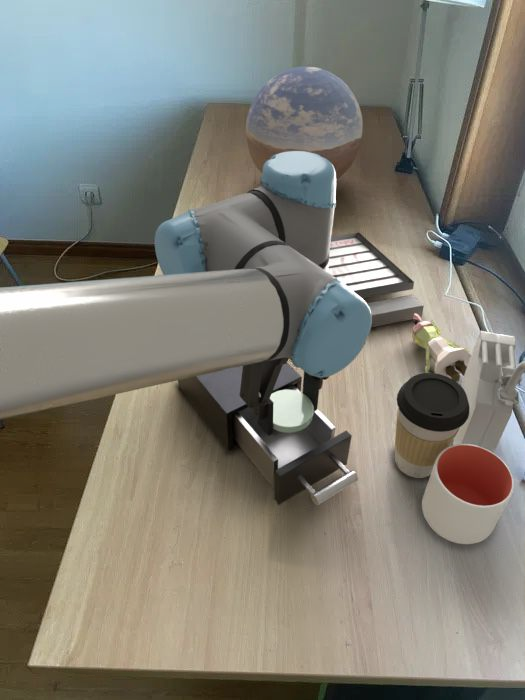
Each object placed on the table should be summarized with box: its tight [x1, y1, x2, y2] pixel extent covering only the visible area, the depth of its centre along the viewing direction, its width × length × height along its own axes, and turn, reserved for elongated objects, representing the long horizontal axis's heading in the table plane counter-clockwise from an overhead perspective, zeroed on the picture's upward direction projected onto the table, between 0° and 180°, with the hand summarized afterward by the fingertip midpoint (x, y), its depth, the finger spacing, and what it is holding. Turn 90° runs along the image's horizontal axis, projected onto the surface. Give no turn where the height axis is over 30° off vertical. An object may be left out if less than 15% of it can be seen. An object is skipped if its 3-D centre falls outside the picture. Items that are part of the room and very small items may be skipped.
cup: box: [421, 444, 515, 545], centre depth 76 cm, size 10×10×10 cm
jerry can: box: [452, 330, 525, 454], centre depth 81 cm, size 15×5×25 cm, turn 165°
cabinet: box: [177, 362, 303, 452], centre depth 93 cm, size 17×14×9 cm
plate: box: [270, 390, 314, 433], centre depth 81 cm, size 7×7×2 cm
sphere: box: [245, 65, 364, 181], centre depth 145 cm, size 30×30×30 cm
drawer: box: [232, 385, 359, 506], centre depth 83 cm, size 21×13×7 cm, turn 34°
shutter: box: [328, 231, 425, 328], centre depth 120 cm, size 32×7×31 cm
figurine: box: [409, 313, 471, 383], centre depth 101 cm, size 9×7×15 cm
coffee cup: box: [394, 372, 470, 479], centre depth 82 cm, size 10×10×15 cm
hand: (287, 416), depth 81 cm, fingers closed on plate, 7 cm apart
